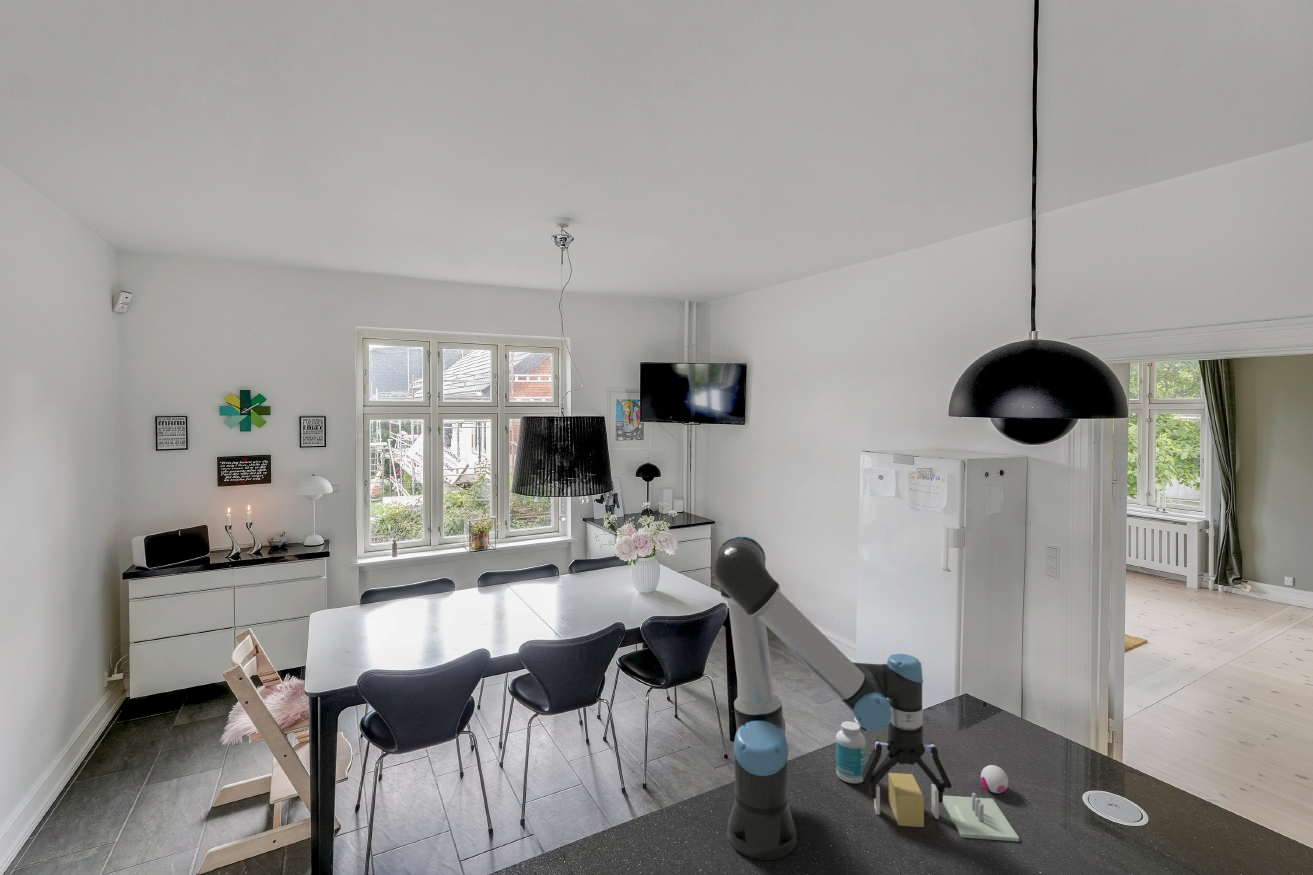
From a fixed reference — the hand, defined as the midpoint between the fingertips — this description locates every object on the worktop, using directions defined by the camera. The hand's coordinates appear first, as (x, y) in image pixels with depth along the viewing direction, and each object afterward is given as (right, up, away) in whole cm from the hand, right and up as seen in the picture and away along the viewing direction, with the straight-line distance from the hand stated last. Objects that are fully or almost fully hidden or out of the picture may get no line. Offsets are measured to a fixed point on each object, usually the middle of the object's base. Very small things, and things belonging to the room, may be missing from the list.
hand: (905, 812), depth 142 cm
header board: (+16, 0, -2) cm, 16 cm away
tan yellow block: (0, 0, 0) cm, 0 cm away
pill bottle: (-8, 0, +15) cm, 17 cm away
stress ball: (+25, 0, +9) cm, 27 cm away
